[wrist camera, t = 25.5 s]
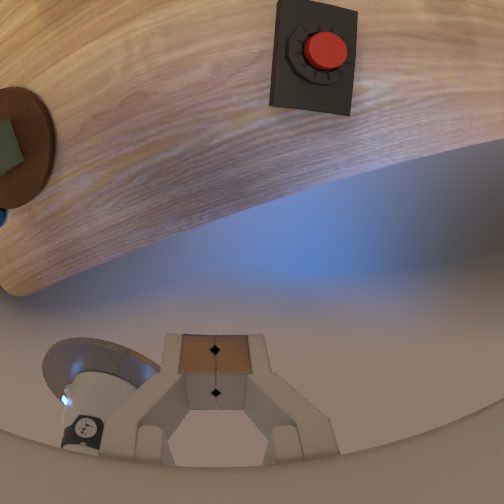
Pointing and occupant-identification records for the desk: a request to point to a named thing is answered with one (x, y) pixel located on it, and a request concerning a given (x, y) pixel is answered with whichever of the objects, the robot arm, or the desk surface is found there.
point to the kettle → (23, 146)
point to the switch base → (297, 66)
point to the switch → (325, 50)
